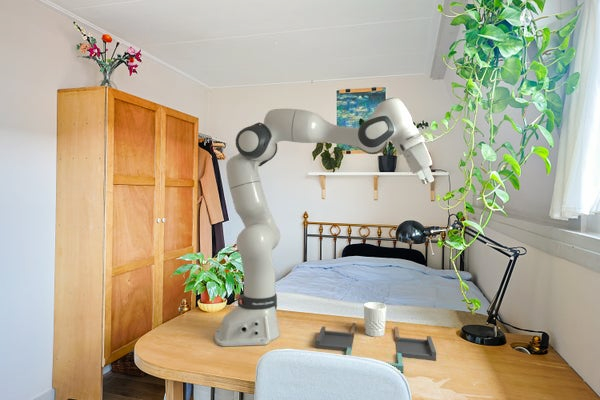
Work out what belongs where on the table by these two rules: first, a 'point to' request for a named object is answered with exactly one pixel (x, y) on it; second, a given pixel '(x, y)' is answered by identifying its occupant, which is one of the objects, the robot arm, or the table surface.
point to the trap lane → (403, 345)
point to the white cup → (375, 318)
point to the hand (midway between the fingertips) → (428, 182)
